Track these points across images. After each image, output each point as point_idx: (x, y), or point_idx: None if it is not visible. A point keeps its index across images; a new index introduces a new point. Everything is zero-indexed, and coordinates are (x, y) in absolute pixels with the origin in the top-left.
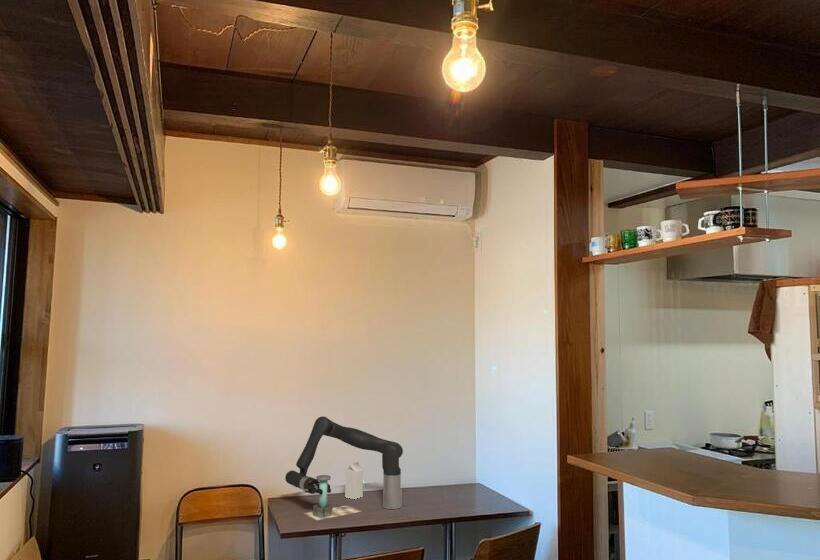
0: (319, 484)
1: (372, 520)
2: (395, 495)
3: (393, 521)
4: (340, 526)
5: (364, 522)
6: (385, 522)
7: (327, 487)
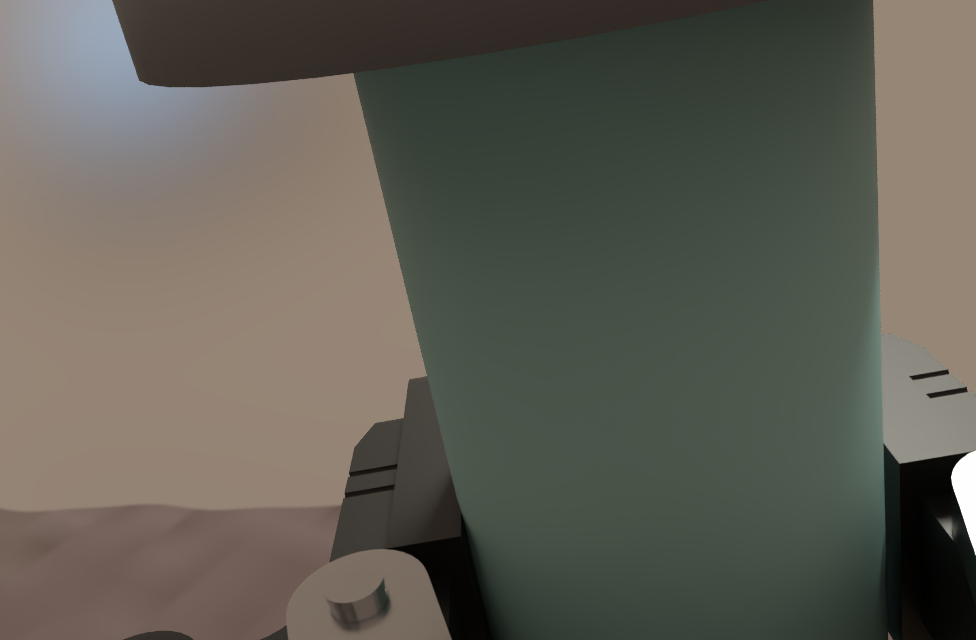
0: (876, 239)
1: (115, 602)
2: None
3: (9, 514)
4: None
5: (255, 571)
6: (93, 511)
7: (418, 488)
